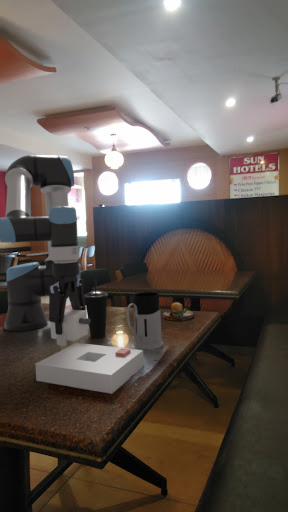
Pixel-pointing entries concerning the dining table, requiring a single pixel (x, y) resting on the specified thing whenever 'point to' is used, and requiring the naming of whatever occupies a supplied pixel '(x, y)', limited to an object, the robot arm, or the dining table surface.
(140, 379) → the dining table surface
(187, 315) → the burger
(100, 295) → the drinking cup
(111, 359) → the socket
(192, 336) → the dining table surface
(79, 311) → the plug
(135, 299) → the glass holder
